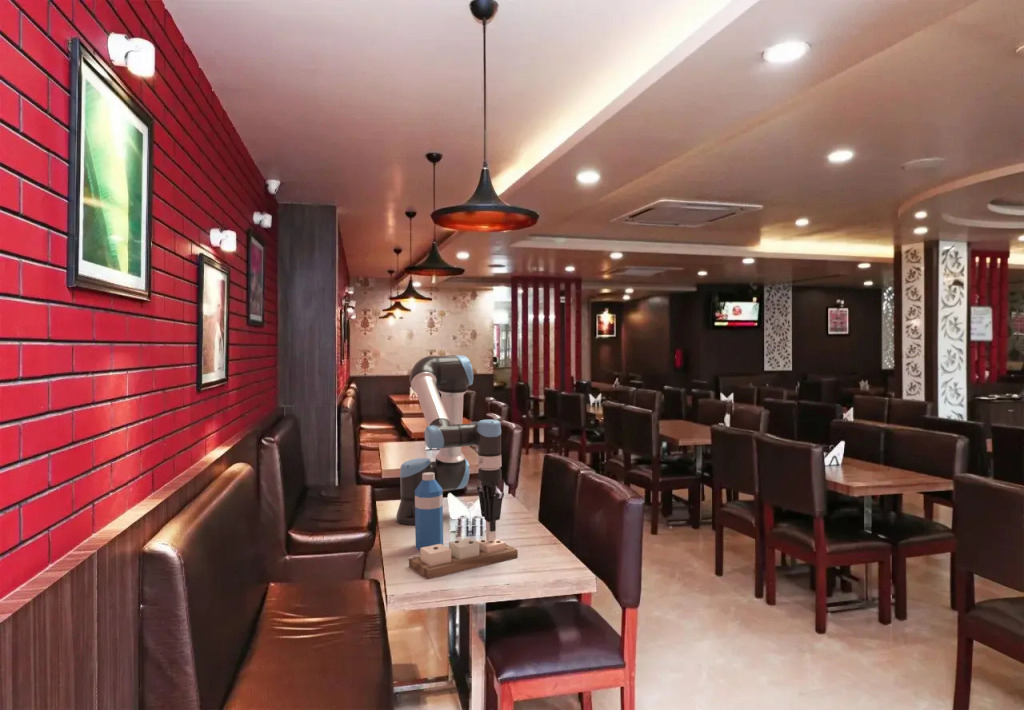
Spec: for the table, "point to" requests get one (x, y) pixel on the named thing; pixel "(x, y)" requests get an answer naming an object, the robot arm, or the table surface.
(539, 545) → the table surface
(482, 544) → the tile three
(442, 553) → the tile one
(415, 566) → the wooden dice tray
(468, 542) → the tile two
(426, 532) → the water bottle
